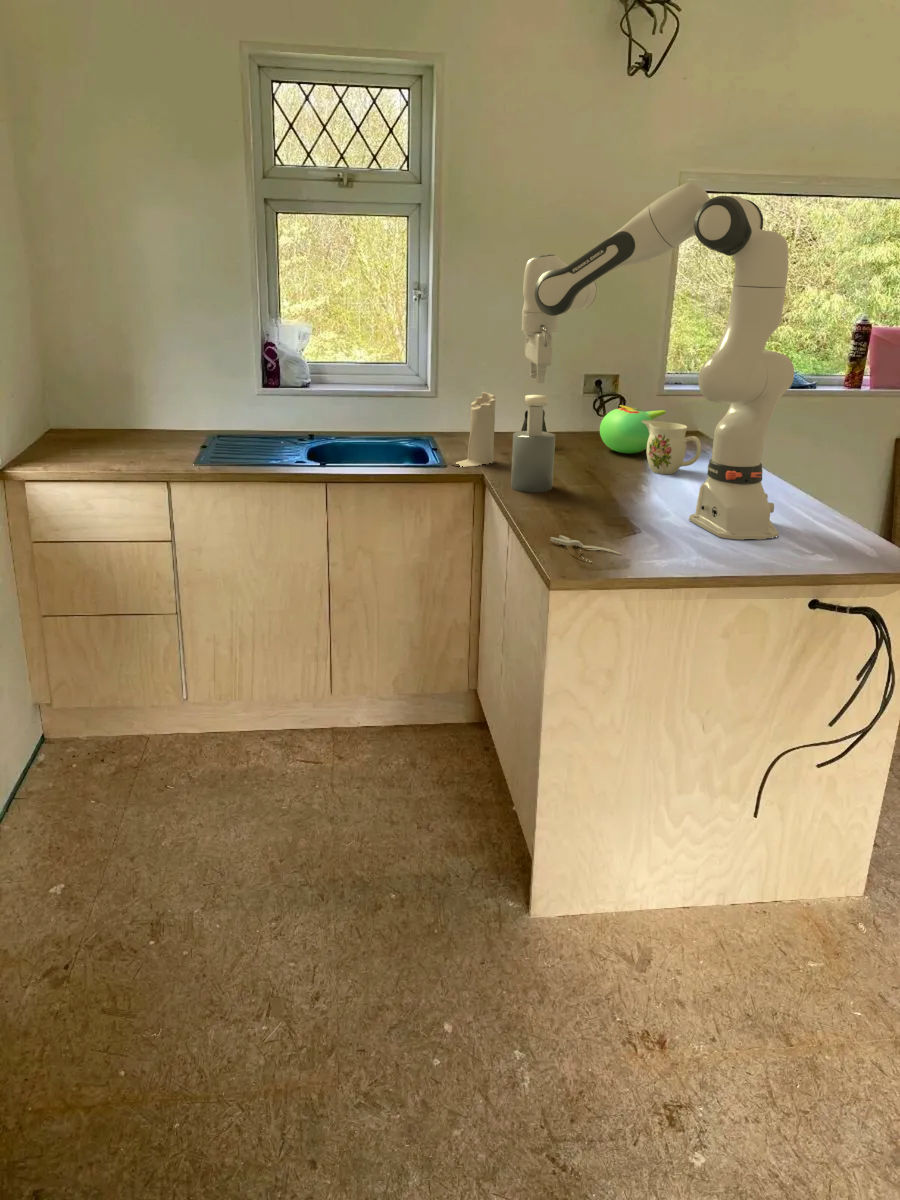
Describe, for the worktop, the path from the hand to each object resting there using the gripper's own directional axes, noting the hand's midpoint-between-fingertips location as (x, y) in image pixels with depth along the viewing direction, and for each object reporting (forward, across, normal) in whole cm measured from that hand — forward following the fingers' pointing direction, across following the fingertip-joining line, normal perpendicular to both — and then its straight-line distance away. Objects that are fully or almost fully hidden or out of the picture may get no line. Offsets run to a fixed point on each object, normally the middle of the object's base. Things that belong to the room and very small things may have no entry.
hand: (537, 380), depth 236 cm
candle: (+28, +28, +13) cm, 42 cm away
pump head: (+13, 0, 0) cm, 13 cm away
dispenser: (+28, 0, 0) cm, 28 cm away
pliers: (+29, -53, -2) cm, 60 cm away
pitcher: (+28, +17, -42) cm, 53 cm away
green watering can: (+28, +43, -37) cm, 63 cm away
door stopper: (+28, +50, -8) cm, 58 cm away
